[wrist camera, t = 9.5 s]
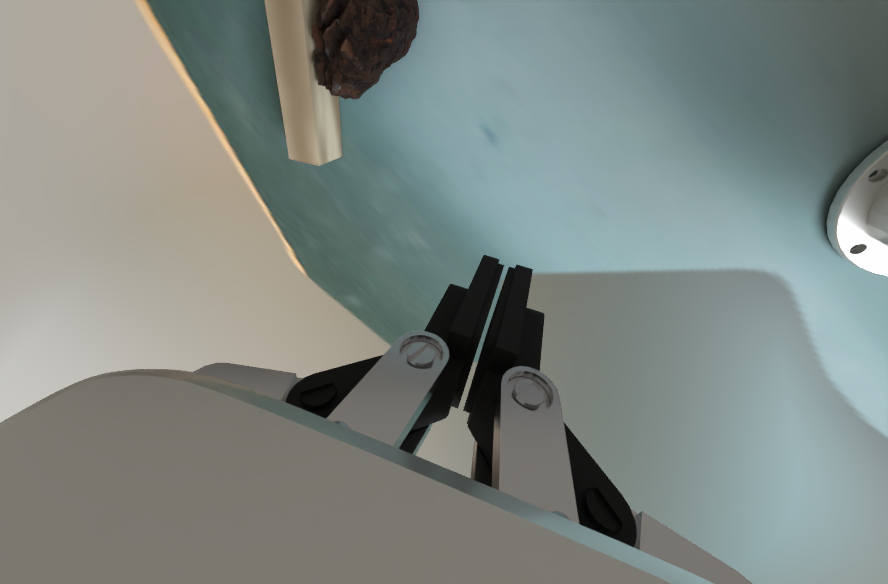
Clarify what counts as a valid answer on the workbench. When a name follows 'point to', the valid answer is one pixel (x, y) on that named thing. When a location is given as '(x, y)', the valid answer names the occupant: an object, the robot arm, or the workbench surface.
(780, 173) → the workbench surface
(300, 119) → the bar
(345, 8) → the brown long lumpy piece
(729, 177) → the workbench surface
